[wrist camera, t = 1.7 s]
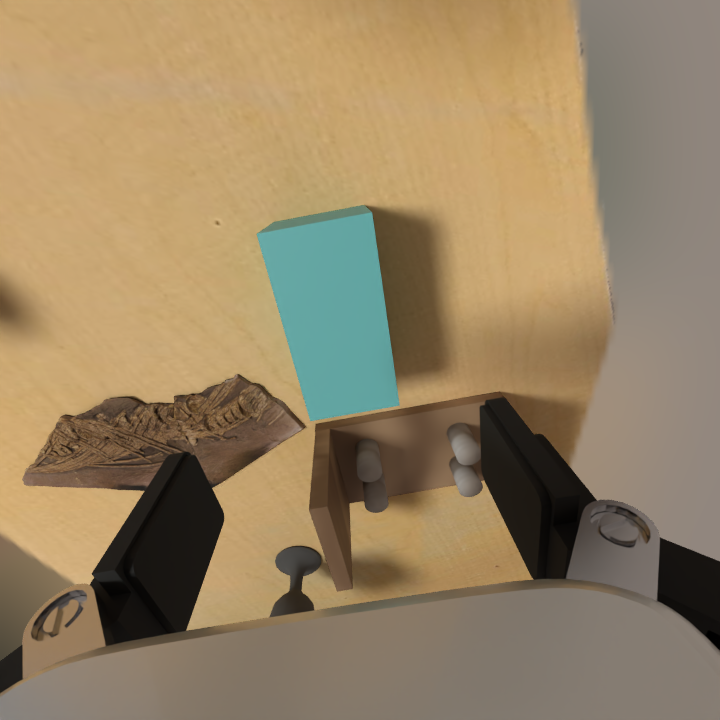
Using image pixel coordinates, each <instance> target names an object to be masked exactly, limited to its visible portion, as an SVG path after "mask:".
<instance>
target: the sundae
mask: <svg viewBox="0 0 720 720" xmlns="http://www.w3.org/2000/svg"><path fill="white" fill-rule="evenodd" d="M275 563H276V566H277V568H278V569H279V570H280V571H281V572H283V573H285V574H287V575H290V578H291V581H290V591H289V592H288V593H286V594H284V595H283V596H282V597H281V598H280V599H279V600H278V601H277V602H276V603H275V604H274V606H273V609H272V612H271V615H270V617H276V616H282V615H289V614H295V613H301V612H308V611H314V605H313V603H312V601H311V600H310V599H309V598H308V597H307V596H306V595H305V594H303V593H302V591H301V589H302V580H303V576H306V575H309V574H311V573H313V572H314V571H316V570H317V569H318V568H319V566H320V564H321V557H320V556H319V554H318V553H317V552H316V551H314V550H313V549H310V548H307V547H302V546H295V547H290V548H287V549H284V550H283V551H281V552H280V553H279V554H278V555H277V557H276V560H275Z"/></svg>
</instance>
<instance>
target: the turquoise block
mask: <svg viewBox="0 0 720 720" xmlns="http://www.w3.org/2000/svg"><path fill="white" fill-rule="evenodd" d="M257 237H258V240H259V244H260V247H261V251H262V254H263V258H264V261H265V265H266V268H267V272H268V275H269V279H270V282H271V286H272V289H273V293H274V296H275V300H276V303H277V307H278V310H279V313H280V317H281V320H282V324H283V327H284V331H285V334H286V338H287V341H288V345H289V348H290V352H291V355H292V359H293V362H294V366H295V369H296V373H297V376H298V380H299V383H300V387H301V390H302V394H303V397H304V400H305V404H306V407H307V411H308V414H309V418H310V421H314V420H319V419H325V418H331V417H336V416H342V415H348V414H354V413H359V412H365V411H371V410H377V409H382V408H388V407H394V406H399V398H398V391H397V384H396V377H395V370H394V363H393V356H392V349H391V342H390V335H389V328H388V321H387V314H386V307H385V300H384V293H383V286H382V279H381V272H380V265H379V257H378V250H377V243H376V236H375V229H374V222H373V215H372V212H371V211H370V210H369V209H368V208H367V207H366V206H365V205H362V206H356V207H351V208H346V209H340V210H335V211H330V212H325V213H319V214H314V215H309V216H303V217H298V218H293V219H287V220H282V221H277V222H273V223H272V224H270V225H269V226H268V227H266V228H265V229H263V230H262V231H260V232H259V233H257Z"/></svg>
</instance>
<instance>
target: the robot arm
mask: <svg viewBox="0 0 720 720" xmlns="http://www.w3.org/2000/svg"><path fill="white" fill-rule="evenodd" d="M480 443H481V470H482V475H483V478H484V480H485V483H486V485H487V487H488V489H489V491H490V493H491V495H492V497H493V499H494V501H495V503H496V505H497V507H498V509H499V511H500V513H501V515H502V517H503V519H504V521H505V524H506V526H507V528H508V530H509V532H510V534H511V536H512V538H513V540H514V542H515V544H516V546H517V548H518V550H519V552H520V554H521V556H522V558H523V560H524V562H525V564H526V567H527V569H528V571H529V573H530V575H531V576H532V578H533V579H534V580H525V581H513V582H505V583H498V584H490V585H483V586H475V587H467V588H460V589H453V590H446V591H439V592H433V593H426V594H419V595H412V596H406V597H399V598H392V599H386V600H379V601H372V602H366V603H359V604H353V605H346V606H340V607H333V608H327V609H321V610H314V611H308V612H301V613H295V614H289V615H282V616H276V617H269V618H263V619H257V620H251V621H244V622H238V623H232V624H226V625H220V626H214V627H207V628H201V629H195V630H189V631H186V629H187V626H188V624H189V621H190V618H191V615H192V612H193V609H194V606H195V603H196V601H197V598H198V595H199V592H200V589H201V586H202V583H203V580H204V578H205V575H206V572H207V569H208V566H209V563H210V560H211V557H212V555H213V552H214V549H215V546H216V543H217V540H218V537H219V534H220V532H221V529H222V526H223V523H224V513H223V510H222V508H221V506H220V504H219V502H218V500H217V498H216V496H215V494H214V491H213V489H212V487H211V485H210V483H209V481H208V479H207V477H206V475H205V473H204V471H203V469H202V467H201V465H200V463H199V461H198V459H197V457H196V456H195V455H191V453H189V452H181V453H175V454H170V455H168V456H167V457H166V459H165V460H164V462H163V464H162V465H161V467H160V468H159V470H158V471H157V473H156V474H155V476H154V478H153V479H152V481H151V482H150V484H149V485H148V487H147V488H146V490H145V492H144V493H143V495H142V496H141V498H140V499H139V501H138V502H137V504H136V506H135V507H134V509H133V510H132V512H131V513H130V515H129V516H128V518H127V520H126V521H125V523H124V524H123V526H122V527H121V529H120V531H119V532H118V534H117V535H116V537H115V538H114V540H113V541H112V543H111V545H110V546H109V548H108V549H107V551H106V552H105V554H104V555H103V557H102V559H101V560H100V562H99V563H98V565H97V566H96V568H95V569H94V571H93V573H92V575H93V576H94V579H93V580H92V582H91V584H90V585H88V584H77V585H74V586H71V587H68V588H67V589H65V590H63V591H61V592H59V593H58V594H56V595H55V596H54V597H53V598H51V599H50V600H48V601H47V602H46V603H45V604H44V605H43V606H42V607H41V608H40V609H39V610H38V611H37V612H36V613H35V615H34V616H33V618H32V619H31V620H30V621H29V623H28V625H27V627H26V629H25V631H24V635H23V645H21V646H20V647H19V648H17V649H16V650H15V651H13V652H12V653H11V654H9V655H8V656H6V657H5V658H4V659H2V660H1V661H0V720H720V561H717V560H715V559H712V558H710V557H707V556H704V555H702V554H699V553H697V552H695V551H692V550H690V549H687V548H685V547H682V546H680V545H677V544H674V543H672V542H669V541H667V540H665V539H662V538H660V537H659V532H658V529H657V528H656V526H655V525H654V523H653V522H652V521H651V520H650V519H649V518H648V517H647V516H646V515H645V514H644V513H642V512H641V511H639V510H638V509H636V508H634V507H632V506H630V505H627V504H625V503H623V502H618V501H614V500H598V501H597V500H596V499H595V498H594V496H593V495H592V494H591V493H590V491H589V490H588V489H587V488H586V487H585V485H584V484H583V483H582V482H581V480H580V479H579V478H578V477H577V476H576V474H575V473H574V472H573V470H572V469H571V468H570V467H569V466H568V464H567V463H566V462H565V461H564V459H563V458H562V457H561V456H560V455H559V453H558V452H557V451H556V450H555V448H554V447H553V446H552V445H551V444H550V442H549V441H548V440H547V439H546V438H545V437H544V436H543V435H542V434H533V433H532V432H531V430H530V429H529V428H528V427H527V425H526V424H525V423H524V421H523V420H522V419H521V418H520V416H519V415H518V414H517V412H516V411H515V410H514V409H513V407H512V406H511V405H510V403H509V402H508V401H507V400H506V398H505V397H500V398H495V399H489V400H486V401H485V405H481V406H480Z"/></svg>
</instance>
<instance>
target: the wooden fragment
mask: <svg viewBox="0 0 720 720" xmlns="http://www.w3.org/2000/svg"><path fill="white" fill-rule="evenodd" d="M174 400H175V402H174V403H173V404H171V403H166V404H164V403H154V404H147V405H146V404H145V403H143V402H141V401H138V400H133V399H130V398H114V399H106V400H104V402H103V403H102V404H100V405H99V406H96V407H94V408H93V409H91V410H89V411H87V412H86V413H84V414H79V415H77V416H73V417H71V416H66V415H63V416H61V417H60V419H59V421H58V422H57V424H56V428H55V429H54V430H53V432H51V434H50V435H49V437H48V439H47V444H46V445H45V446H44V447H43V448H42V449H41V452H40V453H39V455H38V458H37V459H36V461H35V463H34V464H33V465H31V466H29V467H28V468H26V470H25V474H24V477H23V479H22V480H23V482H24V485H28V486H52V487H76V488H108V489H117V490H140V491H145V490H146V488H147V487H148V485H149V484H150V482H151V481H152V479H153V478H154V476H155V474H156V473H157V471H158V470H159V468H160V467H161V465H162V464H163V462H164V460H165V459H166V457H167V456H168V455H170V454H175V453H181V452H189V453H191V455H195V456H196V457H197V459H198V461H199V463H200V465H201V467H202V469H203V471H204V473H205V475H206V477H207V479H208V481H209V483H210V485H211V487H212V488H213V487H214V486H217V485H218V484H220V483H221V482H223V481H224V480H226V479H227V478H229V477H230V476H232V475H233V474H235V473H236V472H238V471H239V470H240V469H242V468H244V467H245V466H247V465H248V464H250V463H251V462H253V461H254V460H256V459H257V458H259V457H260V456H262V455H264V454H265V453H266V452H268V451H269V450H271V449H272V448H273V447H276V446H277V445H278V444H279V443H282V442H283V441H284V440H286V439H288V438H289V437H291V436H292V435H294V434H296V433H297V432H299V431H300V430H302V429H303V428H304V426H305V425H304V424H303V423H301V422H300V420H299V419H298V418H297V417H296V416H295V415H294V414H293V413H292V412H291V411H290V409H289V408H288V406H287V405H286V404H285V403H284V402H283V401H281V400H279V399H278V398H275V397H272V396H270V395H269V394H268V393H267V392H266V391H265V390H264V389H263V388H262V387H261V386H260V385H258V384H252V383H250V382H248V381H247V380H245V379H244V378H243V377H241V376H240V375H235V377H234V378H232V379H229V380H225V382H223V383H221V384H220V385H216V386H211V387H209V388H207V389H206V390H204V391H203V392H202V393H200V394H196V395H193V394H189V395H186V396H174Z"/></svg>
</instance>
